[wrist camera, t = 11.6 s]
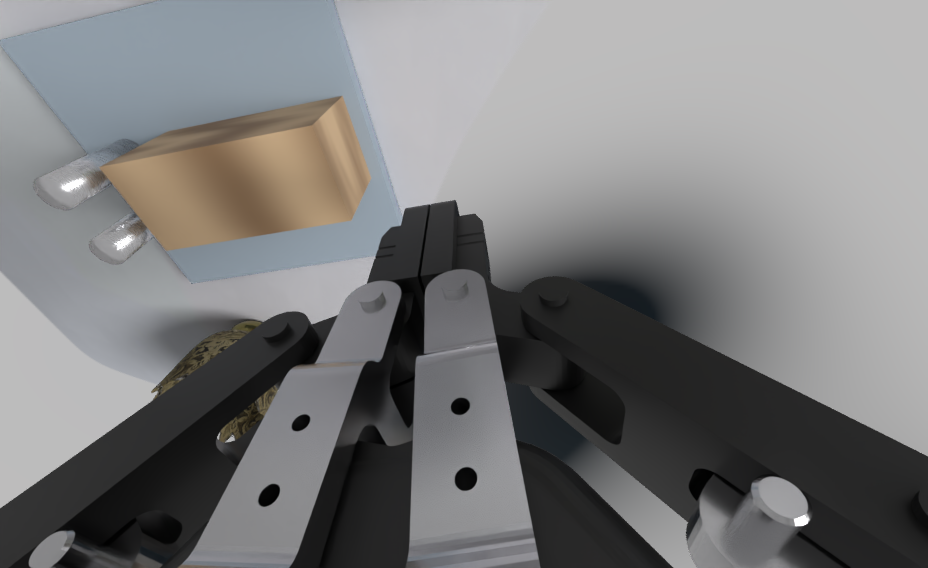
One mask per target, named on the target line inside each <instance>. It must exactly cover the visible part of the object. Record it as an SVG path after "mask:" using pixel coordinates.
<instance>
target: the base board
mask: <svg viewBox="0 0 928 568" xmlns="http://www.w3.org/2000/svg"><path fill="white" fill-rule="evenodd" d="M0 46H1V47H2V48H3V49H4V50H5V52H6V53H7V54H8V55H9V57H10V58H11V59H12V60H13V62H14V63H15V64H16V65H17V67H18V68H19V69H20V70H21V72H22V73H23V74H24V75H25V77H26V78H27V79H28V80H29V82H30V83H31V84H32V85H33V87H34V88H35V89H36V90H37V92H38V93H39V94H40V95H41V97H42V98H43V99H44V100H45V102H46V103H47V104H48V105H49V107H50V108H51V109H52V110H53V112H54V113H55V114H56V115H57V117H58V118H59V119H60V120H61V122H62V123H63V124H64V125H65V127H66V128H67V129H68V130H69V132H70V133H71V134H72V135H73V137H74V138H75V139H76V140H77V141H78V143H79V144H80V145H81V146H82V148H83V149H84V150H85V151H86V153H87V154H90V153H92V152H94V151H96V150H99V149H101V148H103V147H105V146H107V145H109V144H111V143H113V142H115V141H118V140H120V139H129V140H132V141H134V142H136V143H137V144H139V145H140V146H141V145H143V144H144V143H146V142H148V141H150V140H152V139H154V138H156V137H158V136H160V135H162V134H164V133H166V132H167V131H172V130H177V129H182V128H187V127H192V126H196V125H201V124H206V123H211V122H216V121H221V120H226V119H231V118H236V117H241V116H246V115H251V114H255V113H260V112H265V111H270V110H275V109H280V108H285V107H290V106H295V105H300V104H305V103H309V102H314V101H319V100H324V99H329V98H334V97H339V96H343V98H344V101H345V104H346V107H347V110H348V113H349V116H350V118H351V121H352V124H353V127H354V130H355V133H356V136H357V139H358V141H359V144H360V147H361V150H362V153H363V156H364V159H365V161H366V164H367V167H368V170H369V173H370V176H371V180H370V182H369V184H368V186H367V188H366V191H365V193H364V195H363V197H362V199H361V201H360V203H359V206H358V208H357V210H356V212H355V214H354V216H353V218H352V221H346V222H340V223H334V224H328V225H322V226H316V227H309V228H303V229H297V230H291V231H285V232H279V233H273V234H267V235H261V236H255V237H248V238H242V239H236V240H230V241H224V242H218V243H212V244H206V245H200V246H194V247H187V248H181V249H175V250H169V251H166V250H165V249H164V248H163V249H164V250H165V251H166V252H167V254H168V255H169V256H170V257H171V259H172V260H173V261H174V262H175V264H176V265H177V266H178V267H179V269H180V270H181V271H182V272H183V274H184V275H185V276H186V277H187V279H188V280H189V281H190V282H191V284H193V283H199V282H206V281H212V280H219V279H225V278H232V277H239V276H245V275H252V274H258V273H265V272H272V271H278V270H285V269H291V268H298V267H304V266H311V265H318V264H324V263H331V262H337V261H344V260H351V259H357V258H364V257H370V256H376V253H377V250H379V249H378V247H379V244H380V241H381V238H382V236H383V235H384V234H385V233H386V232H387V231H388V230H389V229H390V228H391V227H395V226H401V223H402V219H403V218H402V215H401V212H400V208H399V205H398V202H397V199H396V196H395V193H394V190H393V186H392V183H391V180H390V177H389V174H388V171H387V167H386V164H385V161H384V158H383V155H382V152H381V149H380V145H379V142H378V139H377V136H376V133H375V130H374V126H373V123H372V120H371V117H370V114H369V111H368V108H367V104H366V101H365V98H364V95H363V92H362V89H361V86H360V82H359V79H358V76H357V73H356V70H355V67H354V63H353V60H352V57H351V54H350V51H349V48H348V45H347V41H346V38H345V35H344V32H343V29H342V26H341V22H340V19H339V16H338V13H337V10H336V7H335V4H334V0H160V1H156V2H152V3H147V4H143V5H139V6H135V7H131V8H127V9H123V10H119V11H115V12H111V13H107V14H103V15H99V16H95V17H91V18H87V19H83V20H79V21H75V22H71V23H67V24H63V25H59V26H55V27H51V28H47V29H43V30H39V31H35V32H31V33H27V34H22V35H18V36H14V37H10V38H6V39H2V40H0ZM113 186H114V185H113ZM114 188H115V187H114ZM115 189H116V188H115ZM116 190H117V189H116ZM117 191H118V190H117ZM118 193H119V192H118ZM119 194H120V193H119ZM120 195H121V194H120ZM121 196H122V195H121ZM122 198H123V197H122ZM123 199H124V198H123ZM124 200H125V199H124ZM125 201H126V200H125ZM126 203H127V202H126ZM127 204H128V203H127ZM128 205H129V204H128ZM129 206H130V205H129ZM130 208H131V207H130ZM131 209H132V208H131ZM132 210H133V209H132ZM155 239H156V238H155ZM156 240H157V239H156ZM157 241H158V240H157ZM159 244H160V243H159ZM160 245H161V244H160ZM161 246H162V245H161Z"/></svg>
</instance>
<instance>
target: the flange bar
mask: <svg viewBox="0 0 928 568" xmlns="http://www.w3.org/2000/svg"><path fill="white" fill-rule="evenodd" d="M99 168H100V169H101V170H102V172H103V173H104V174H105V175H106V177H107V178H108V179H109V180H110V182H111V183H112V184H113V185H114V187H115V188H116V189H117V190H118V192H119V193H120V194H121V195H122V197H123V198H124V199H125V200H126V202H127V203H128V204H129V205H130V207H131V208H132V209H133V210H134V212H135V213H136V214H137V215H138V217H139V218H140V219H141V220H142V222H143V223H144V224H145V225H146V227H147V228H148V229H149V230H150V232H151V233H152V234H153V235H154V237H155V238H156V239H157V240H158V242H159V243H160V244H161V245H162V247H163V248H164V249H165V250H166V251H169V250H175V249H181V248H187V247H194V246H200V245H206V244H212V243H218V242H224V241H230V240H236V239H242V238H248V237H255V236H261V235H267V234H273V233H279V232H285V231H291V230H297V229H303V228H309V227H316V226H322V225H328V224H334V223H340V222H346V221H352V218H353V216H354V214H355V212H356V210H357V208H358V206H359V203H360V201H361V199H362V197H363V195H364V193H365V191H366V188H367V186H368V184H369V182H370V180H371V176H370V173H369V170H368V167H367V164H366V161H365V159H364V156H363V153H362V150H361V147H360V144H359V141H358V139H357V136H356V133H355V130H354V127H353V124H352V121H351V118H350V116H349V113H348V110H347V107H346V104H345V101H344V98H343V96H339V97H334V98H329V99H324V100H319V101H314V102H309V103H305V104H300V105H295V106H290V107H285V108H280V109H275V110H270V111H265V112H260V113H255V114H251V115H246V116H241V117H236V118H231V119H226V120H221V121H216V122H211V123H206V124H201V125H196V126H192V127H187V128H182V129H177V130H172V131H167V132H166V133H164V134H162V135H160V136H158V137H156V138H154V139H152V140H150V141H148V142H146V143H144V144H143V145H141V146H139V147H137V148H135V149H133V150H131V151H129V152H127V153H125V154H123V155H121V156H119V157H118V158H116V159H114V160H112V161H110V162H108V163H106V164H104V165H102V166H100V167H99Z"/></svg>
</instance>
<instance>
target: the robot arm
mask: <svg viewBox="0 0 928 568" xmlns="http://www.w3.org/2000/svg"><path fill="white" fill-rule="evenodd" d="M378 249H379V250H377V253H376V256H375V257H376V259H375V260H374V263H373V266H372V269H371V272H370V275H369V279H368V282H367V284H365V285H363V286H361V287H359V288H357V289H356V290H354V291H353V292H352V293H351V294H350V295H349V296H348V297H347V298H346V300H345V302H344V304H343V306H342V308H341V310H340V312H339V314H338V315H337V316H334V317H332V318H329V319H326V320H323V321H321V322H318V323H315V324H311V322H310V321H309V319H308V317H307V316H306V315H305V314H303V313H301V312H286V313H282V314H279V315H276V316H274V317H272V318H270V319H268V320H266V321H265V322H263V323H262V324H260V325H259V326H258V327H256V328H255V329H253V330H252V331H251V332H249V333H248V334H246V335H245V336H243V337H242V338H241V339H239V340H238V341H236V342H235V343H234V344H232V345H231V346H229V347H228V348H226V349H225V350H224V351H222V352H221V353H219V354H218V355H217V356H215V357H214V358H212V359H211V360H209V361H208V362H207V363H205V364H204V365H202V366H201V367H200V368H198V369H197V370H195V371H194V372H193V373H191V374H190V375H188V376H187V377H185V378H184V379H183V380H181V381H180V382H178V383H177V384H176V385H174V386H173V387H171V388H170V389H168V390H167V391H166V392H164V393H163V394H161V395H160V396H159V397H157V398H156V399H154V400H153V401H152V402H150V403H149V404H148V405H146V406H144V407H143V408H142V409H140V410H139V411H137V412H136V413H135V414H133V415H132V416H130V417H129V418H127V419H126V420H125V421H123V422H122V423H120V424H119V425H118V426H116V427H115V428H114V429H112V430H111V431H109V432H108V433H106V434H105V435H103V436H102V437H101V438H99V439H98V440H96V441H95V442H94V443H92V444H91V445H89V446H88V447H87V448H85V449H84V450H82V451H81V452H79V453H78V454H77V455H75V456H74V457H72V458H71V459H70V460H68V461H67V462H65V463H64V464H62V465H61V466H60V467H58V468H57V469H56V470H54V471H53V472H51V473H50V474H48V475H47V476H45V477H44V478H43V479H42V480H40V481H39V482H37V483H36V484H34V485H33V486H31V487H30V488H29V489H27V490H26V491H24V492H23V493H21V494H20V495H19V496H17V497H16V498H14V499H13V500H12V501H10V502H9V503H8V504H6V505H5V506H3V507H2V508H0V568H673V567H672V566H671V565H670V564H669V563H668V562H667V561H666V560H665V559H664V558H663V557H662V556H661V555H659V553H658V552H657V551H656V550H655V549H654V548H652V547H651V546H650V544H649V543H647V542H646V541H645V540H644V539H643V538H642V537H641V536H640V535H639V534H638V533H637V532H636V531H635V530H634V529H633V528H632V527H631V526H630V525H629V524H628V523H627V522H626V521H625V520H624V519H623V518H622V517H621V516H620V515H619V514H618V513H617V512H616V511H615V510H614V509H613V508H612V507H611V506H610V505H609V504H608V503H607V502H606V501H605V500H604V499H602V497H601V496H600V495H599V494H598V493H597V492H596V491H595V490H594V489H592V488H591V487H590V486H589V485H588V484H587V483H586V482H585V481H584V480H583V479H582V478H581V477H580V476H579V475H578V474H577V473H576V472H575V471H574V470H573V469H572V468H570V467H569V466H568V465H567V464H565V463H564V462H563V461H561V460H560V459H559V458H557V457H556V456H554V455H552V454H551V453H549V452H547V451H545V450H543V449H541V448H539V447H536V446H534V445H532V444H528V443H525V442H522V441H518V440H516V439H515V434H514V429H513V424H512V419H511V414H510V408H509V403H508V398H507V393H506V388H505V383H504V381H506V382H511V383H516V384H522V385H527V386H530V388H531V390H532V392H533V393H534V395H535V396H536V397H537V398H538V399H540V400H541V401H542V402H543V403H544V404H546V405H547V406H548V407H549V408H551V409H552V410H553V411H554V412H555V413H557V414H558V415H559V416H560V417H561V418H563V419H564V420H565V421H566V422H567V423H569V424H570V425H571V426H572V427H573V428H575V429H576V430H577V431H578V432H580V433H581V434H582V435H583V436H584V437H586V438H587V439H588V440H589V441H590V442H592V443H593V444H594V445H595V446H597V447H598V448H599V449H600V450H601V451H603V452H604V453H605V454H607V456H609V457H610V458H611V459H612V460H613V461H615V462H616V463H617V464H618V465H619V466H621V467H622V468H623V469H624V470H625V471H627V472H628V473H629V474H630V475H632V476H633V477H634V478H635V479H636V480H638V481H639V482H640V483H641V484H642V485H644V486H645V487H646V488H647V489H648V490H650V491H651V492H652V493H653V494H655V495H656V496H657V497H658V498H659V499H661V500H662V501H663V502H664V503H665V504H667V505H668V506H669V507H670V508H672V509H673V510H674V511H675V512H676V513H677V514H679V515H680V516H681V517H682V518H684V519H685V520H686V521H687V522H688V523H687V528H686V540H687V545H688V549H689V552H690V555H691V557H692V560H693V562H694V563H695V565H696V567H697V568H928V456H926V455H924V454H922V453H919V452H918V451H916V450H914V449H912V448H910V447H908V446H906V445H903V444H902V443H900V442H898V441H896V440H894V439H892V438H890V437H888V436H885V435H884V434H882V433H880V432H878V431H875V430H873V429H872V428H870V427H867V426H866V425H864V424H861V423H860V422H857V421H856V420H854V419H851V418H849V417H848V416H846V415H844V414H842V413H840V412H838V411H836V410H834V409H832V408H830V407H828V406H826V405H824V404H821V403H820V402H817V401H815V400H813V399H812V398H809V397H808V396H805V395H803V394H802V393H800V392H797V391H795V390H794V389H792V388H790V387H787V386H786V385H783V384H781V383H779V382H777V381H775V380H773V379H771V378H769V377H767V376H765V375H763V374H761V373H759V372H757V371H755V370H753V369H751V368H749V367H747V366H745V365H743V364H741V363H739V362H737V361H735V360H733V359H731V358H729V357H727V356H725V355H723V354H721V353H719V352H717V351H715V350H713V349H711V348H709V347H707V346H705V345H703V344H701V343H699V342H697V341H695V340H693V339H691V338H689V337H687V336H685V335H683V334H681V333H679V332H677V331H675V330H673V329H671V328H669V327H667V326H665V325H663V324H661V323H659V322H657V321H655V320H653V319H651V318H649V317H647V316H645V315H643V314H641V313H639V312H637V311H635V310H633V309H631V308H629V307H627V306H625V305H623V304H621V303H619V302H617V301H615V300H613V299H611V298H609V297H607V296H605V295H603V294H601V293H599V292H597V291H595V290H593V289H591V288H589V287H587V286H585V285H583V284H581V283H579V282H577V281H575V280H572V279H569V278H566V277H557V276H555V277H554V276H553V277H545V278H541V279H538V280H535V281H533V282H532V283H530V284H528V285H527V286H526V287H525V288H524V289H523V290H522V292H521V293H518V292H509V291H505V290H502V289H500V288H497V287H496V286H494V285H493V284H492V283H491V273H490V263H489V257H488V252H487V245H486V239H485V233H484V227H483V222H482V220H481V219H480V218H479V217H478V216H477V215H476V214H470V215H463V216H459V211H458V207H457V203H456V201H455V200H453V201H448V202H441V203H435V204H431V205H430V204H429V205H423V206H417V207H411V208H406V209H405V211H404V215H403V219H402V223H401V226H395V227H391V228H390V229H389V230H388V231H387V232H386V233H385V234H384V235H383V236H382V238H381V241H380V244H379V247H378ZM273 386H275V387H276V388H277V389H278V392H277V393H276V395H275V397H274V399H273V401H272V403H271V405H270V407H269V409H268V410H267V412H266V414H265V416H264V417H263V418H262V419H261V420H260V421H259V422H258V423H256V424H255V425H254V426H253V427H252V428H251V429H249V430H248V431H247V432H246V433H245V434H244V435H242V436H241V437H240V438H238V439H237V440H235V441H232V442H227V443H225V442H221V441H219V440H218V439H217V436H218V434H219V433H220V431H221V430H222V429H223V428H224V427H225V426H226V425H227V424H228V423H229V422H230V421H232V420H233V419H234V418H235V417H237V416H238V415H239V414H240V413H241V412H243V411H244V410H245V409H246V408H248V407H249V406H250V405H251V404H252V403H254V402H255V401H256V400H257V399H258V398H260V397H261V396H262V395H263V394H265V393H266V392H267V391H268V390H269V389H271V388H272V387H273Z"/></svg>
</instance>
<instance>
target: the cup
mask: <svg viewBox="0 0 928 568" xmlns="http://www.w3.org/2000/svg"><path fill="white" fill-rule="evenodd" d="M260 324H262V323H261V322H258V321H243V322H240V323H239V324H237V325H235V326H234V327H233V328H232V329H231V330H227V331H222V332H219V333H216V334H213V335H211V336H209V337H208V338H206V339H204V340H203V341H202V342H200V343H199V344H198V345H197V346H196V347H194V348H193V349H192V350H191V351H190V352H189V353H188V354H187V355H186V356H185V357H184V358H183V359H182V360H181V361H180V362H179V363H178V364H177V366H176V367H175V368H174V369H173V370H172V371H171V372H170V373H169V374H168V375H167V376H166V377H165V378H164V379H163V380H162V381H161V382H160V383H159V384H158V385H157V386H156V387H155V388H154V389H153V390H152V393H153V392H155V391H158V393H157V395H156V396H155V398H154V399H156V398H157V397H159V396H160V395H161V394H163V393H164V392H166V391H167V390H168V389H170V388H171V387H173V386H174V385H176V384H177V383H178V382H180V381H181V380H183V379H184V378H185V377H187V376H188V375H190V374H191V373H193V372H194V371H195V370H197V369H198V368H200V367H201V366H202V365H204V364H205V363H207V362H208V361H209V360H211V359H212V358H214V357H215V356H217V355H218V354H219V353H221V352H222V351H224V350H225V349H226V348H228V347H229V346H231V345H232V344H234V343H235V342H236V341H238V340H239V339H241V338H242V337H243V336H245V335H246V334H248V333H249V332H251V331H252V330H253V329H255V328H256V327H258V326H259V325H260ZM277 391H278V389H277V388H276V387H275V386H273V387H272V388H271V389H269V390H268V391H267V392H266V393H265V394H263V395H262V396H261V397H260V398H258V399H257V400H256V401H255V402H254V403H252V404H251V405H250V406H249V407H248V408H246V409H245V410H244V411H243V412H241V413H240V414H239V415H238V416H237V417H235V418H234V419H233V420H232V421H230V422H229V423H228V424H227V425H226V426H225V427H224V428H223V429H222V430H221V431H220V436H219V441H221V442H226V440H228V439H229V438H230V437H231V435H233V436H234V438H235V440H237V439H238V438H240V437H241V436H242V435H244V434H245V433H246V432H247V431H248V430H249V429H251V428H252V427H253V426H254V425H255V424H256V423H258V422H259V421H260V420H261V419H262V418H263V417H264V416H265V414H266V412H267V410H268V409H269V407H270V405H271V403H272V401H273V399H274V397H275V395H276V393H277ZM154 399H153V400H154Z"/></svg>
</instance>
